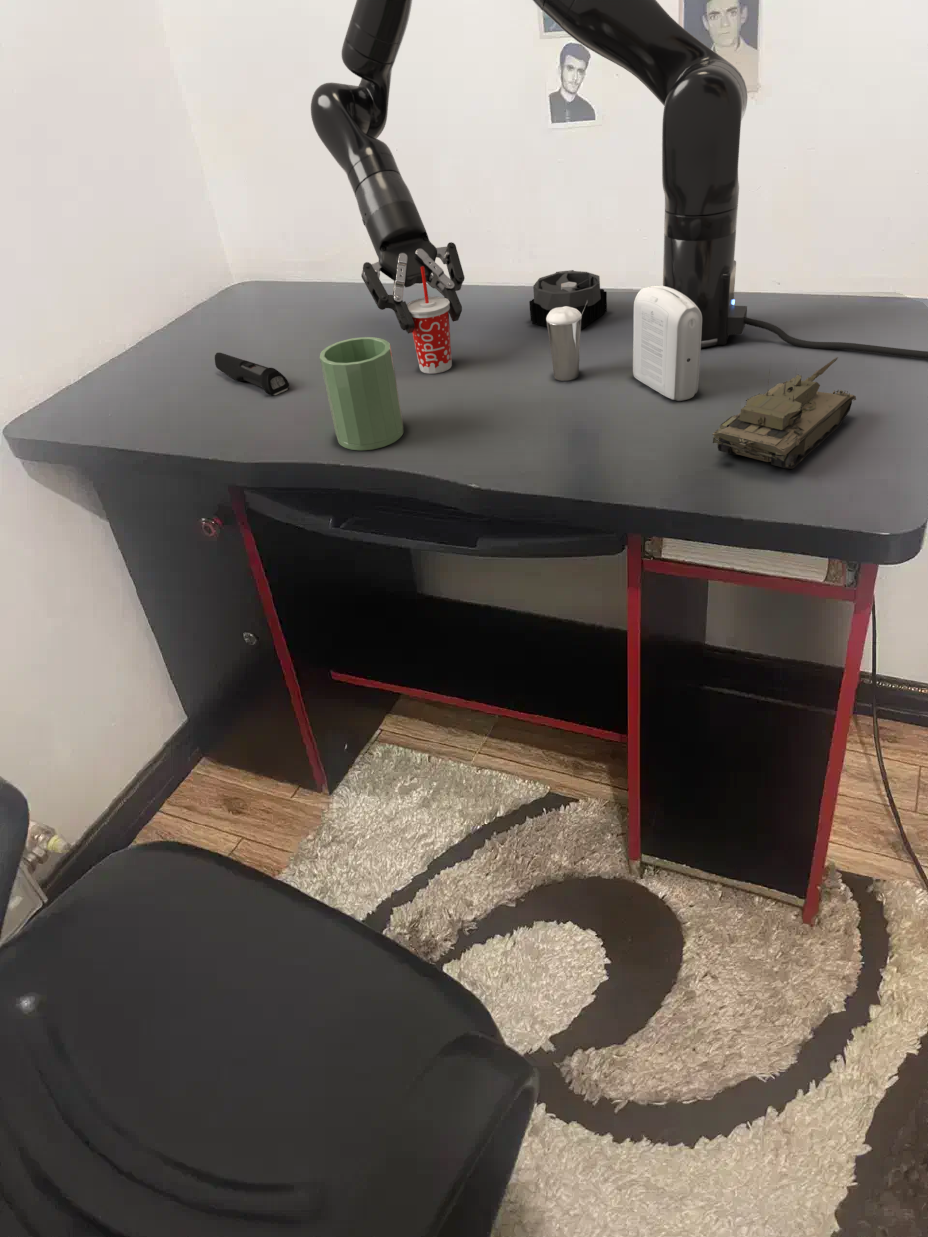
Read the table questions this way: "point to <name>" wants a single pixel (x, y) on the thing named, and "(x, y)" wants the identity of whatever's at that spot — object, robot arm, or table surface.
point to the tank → (784, 422)
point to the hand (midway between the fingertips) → (434, 323)
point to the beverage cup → (431, 331)
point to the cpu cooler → (568, 296)
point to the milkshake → (564, 341)
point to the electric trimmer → (252, 373)
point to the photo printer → (667, 342)
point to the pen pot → (362, 393)
